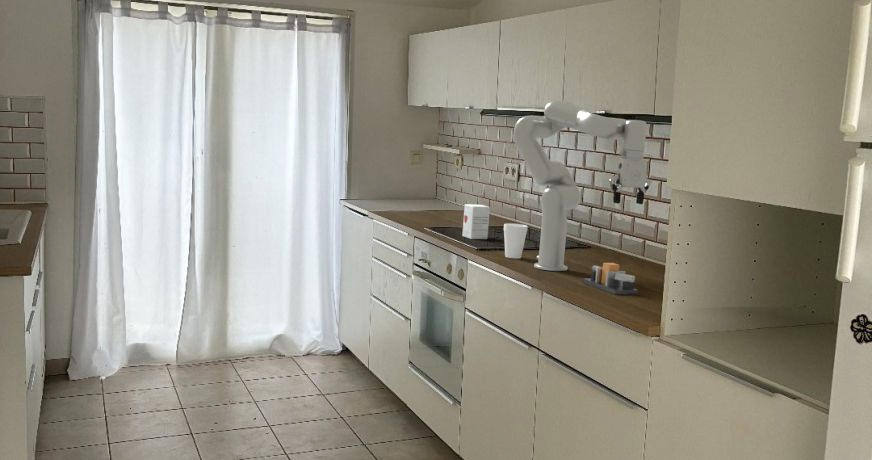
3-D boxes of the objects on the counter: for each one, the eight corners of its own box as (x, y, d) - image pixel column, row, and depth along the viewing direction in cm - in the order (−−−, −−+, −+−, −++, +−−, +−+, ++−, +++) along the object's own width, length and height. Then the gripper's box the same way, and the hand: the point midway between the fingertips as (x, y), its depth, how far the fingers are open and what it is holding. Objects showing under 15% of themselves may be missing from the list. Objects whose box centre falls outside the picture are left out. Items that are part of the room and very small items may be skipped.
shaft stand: (582, 282, 316) (584, 264, 316) (604, 282, 320) (605, 264, 319) (614, 294, 298) (616, 275, 297) (637, 294, 302) (639, 275, 301)
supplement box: (461, 236, 416) (463, 203, 414) (478, 236, 420) (481, 204, 418) (470, 239, 408) (473, 206, 406) (488, 239, 412) (490, 206, 410)
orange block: (607, 285, 306) (609, 264, 305) (601, 282, 310) (603, 262, 309) (617, 285, 308) (619, 264, 307) (611, 282, 312) (613, 262, 311)
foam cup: (523, 259, 358) (526, 227, 357) (500, 257, 360) (502, 225, 358) (525, 256, 367) (528, 225, 366) (503, 254, 369) (505, 222, 368)
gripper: (618, 154, 311) (613, 204, 313) (659, 157, 318) (654, 205, 320) (606, 153, 318) (601, 201, 320) (646, 155, 325) (642, 202, 327)
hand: (628, 203), depth 320 cm, fingers open, 9 cm apart
